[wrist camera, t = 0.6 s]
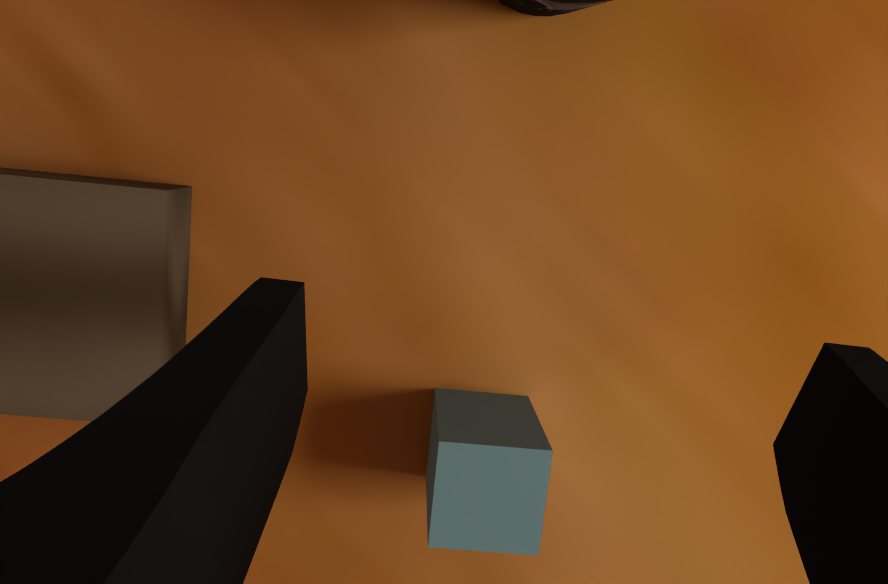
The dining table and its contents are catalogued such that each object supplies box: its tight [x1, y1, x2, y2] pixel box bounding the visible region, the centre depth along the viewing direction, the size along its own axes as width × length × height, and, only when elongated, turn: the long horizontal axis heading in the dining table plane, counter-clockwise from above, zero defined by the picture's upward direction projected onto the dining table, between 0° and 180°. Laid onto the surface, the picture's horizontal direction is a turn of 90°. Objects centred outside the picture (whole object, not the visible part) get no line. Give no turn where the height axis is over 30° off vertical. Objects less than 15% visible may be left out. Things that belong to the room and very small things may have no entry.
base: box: [0, 168, 192, 421], centre depth 29 cm, size 9×9×3 cm
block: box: [426, 388, 553, 555], centre depth 30 cm, size 4×4×6 cm
